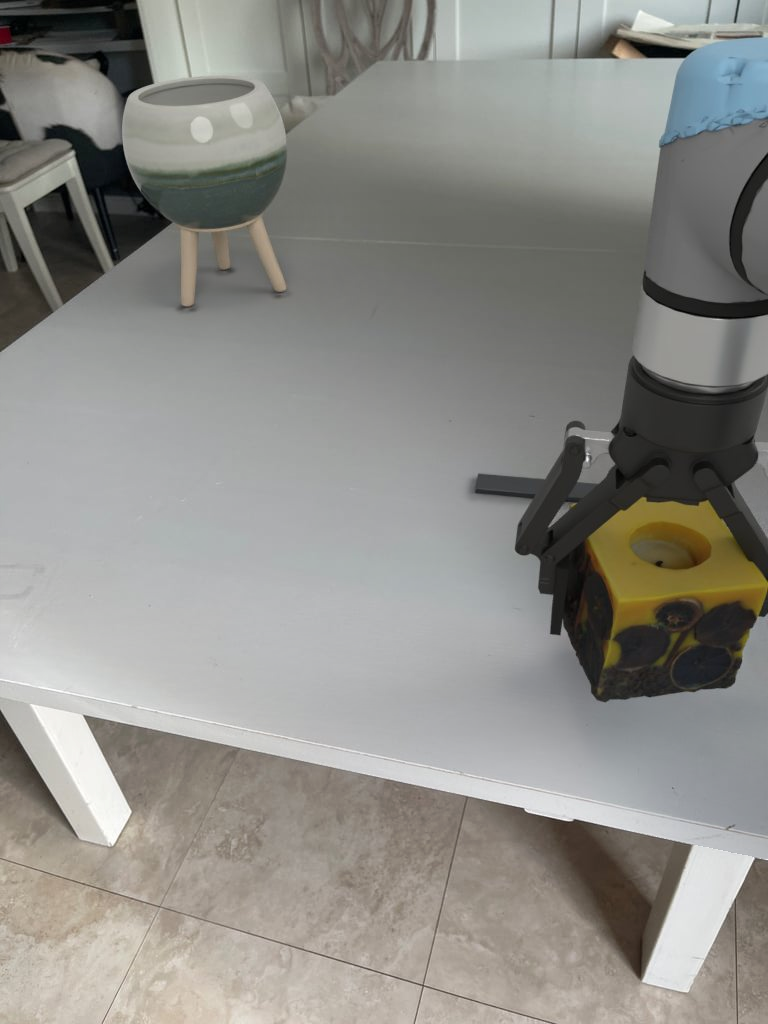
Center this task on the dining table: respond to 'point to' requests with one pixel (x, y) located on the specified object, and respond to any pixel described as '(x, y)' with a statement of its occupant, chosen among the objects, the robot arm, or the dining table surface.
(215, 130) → the planter
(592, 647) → the candle
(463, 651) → the dining table surface
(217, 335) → the dining table surface
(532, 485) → the knife
